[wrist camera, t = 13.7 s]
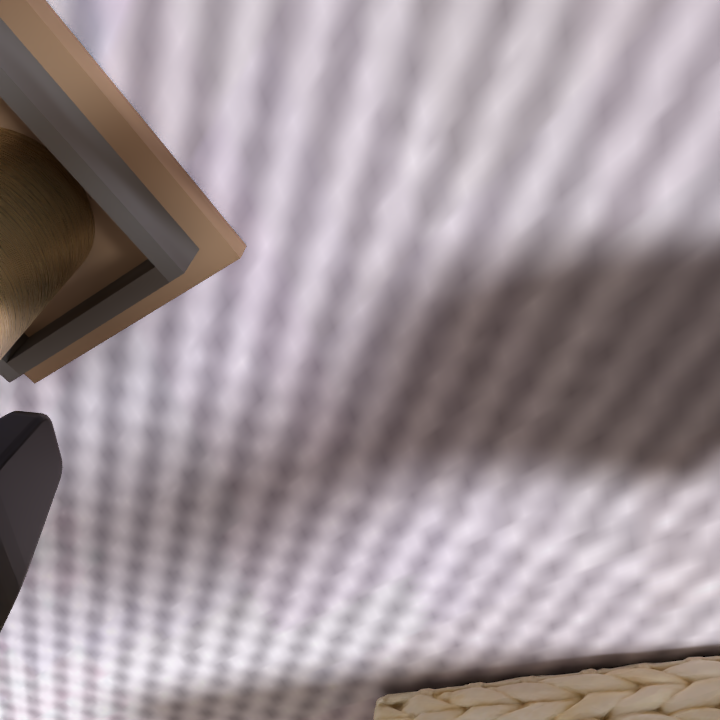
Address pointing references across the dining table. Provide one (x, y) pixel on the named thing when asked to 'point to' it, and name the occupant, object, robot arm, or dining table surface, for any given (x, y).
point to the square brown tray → (102, 193)
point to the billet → (37, 231)
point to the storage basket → (573, 696)
